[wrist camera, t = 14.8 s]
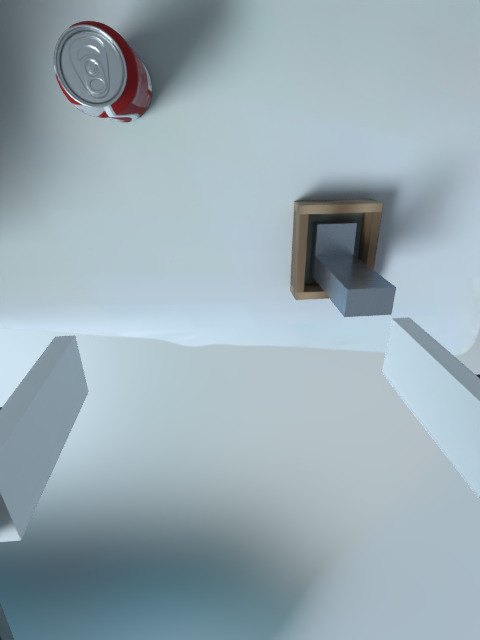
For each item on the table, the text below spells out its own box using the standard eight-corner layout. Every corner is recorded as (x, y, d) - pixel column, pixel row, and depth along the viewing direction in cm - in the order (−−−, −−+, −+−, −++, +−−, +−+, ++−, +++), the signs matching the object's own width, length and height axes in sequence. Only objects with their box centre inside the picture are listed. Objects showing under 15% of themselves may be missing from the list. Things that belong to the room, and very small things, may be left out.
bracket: (345, 271, 51) (391, 314, 39) (309, 273, 51) (344, 316, 38) (351, 220, 48) (403, 248, 36) (313, 221, 48) (352, 250, 35)
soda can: (142, 43, 39) (119, 5, 28) (160, 116, 42) (144, 107, 31) (79, 55, 39) (30, 23, 28) (101, 127, 42) (64, 123, 31)
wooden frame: (290, 290, 52) (295, 299, 49) (294, 201, 47) (300, 205, 44) (359, 287, 53) (369, 296, 50) (371, 199, 48) (383, 203, 44)
